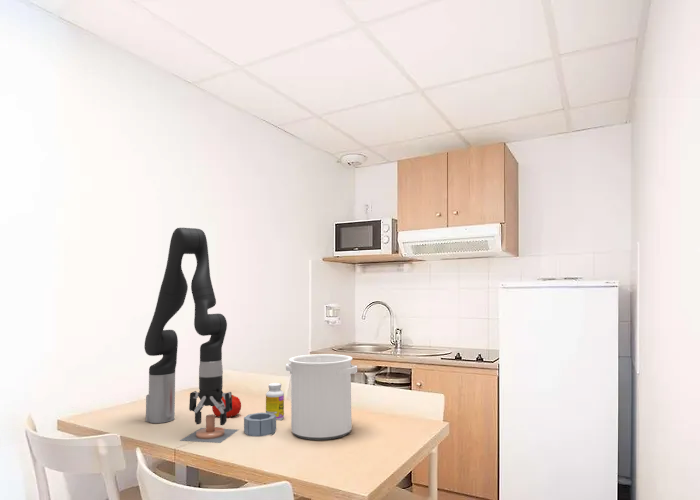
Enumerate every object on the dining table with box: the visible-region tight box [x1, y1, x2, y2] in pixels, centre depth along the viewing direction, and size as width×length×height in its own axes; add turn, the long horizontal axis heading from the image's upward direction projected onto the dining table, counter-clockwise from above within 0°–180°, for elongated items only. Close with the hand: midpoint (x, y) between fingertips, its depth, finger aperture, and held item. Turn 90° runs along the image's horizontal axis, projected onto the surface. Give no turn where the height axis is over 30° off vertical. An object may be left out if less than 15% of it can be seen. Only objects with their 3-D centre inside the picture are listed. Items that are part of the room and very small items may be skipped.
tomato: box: [211, 394, 242, 419], centre depth 184 cm, size 11×11×8 cm
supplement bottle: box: [265, 382, 285, 421], centre depth 178 cm, size 7×7×13 cm
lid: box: [196, 414, 225, 439], centre depth 158 cm, size 9×9×6 cm
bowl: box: [243, 412, 277, 437], centre depth 161 cm, size 10×10×6 cm
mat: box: [179, 427, 239, 444], centre depth 158 cm, size 14×14×1 cm
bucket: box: [285, 353, 358, 441], centre depth 163 cm, size 26×22×24 cm
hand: (210, 424), depth 158 cm, fingers open, 8 cm apart
